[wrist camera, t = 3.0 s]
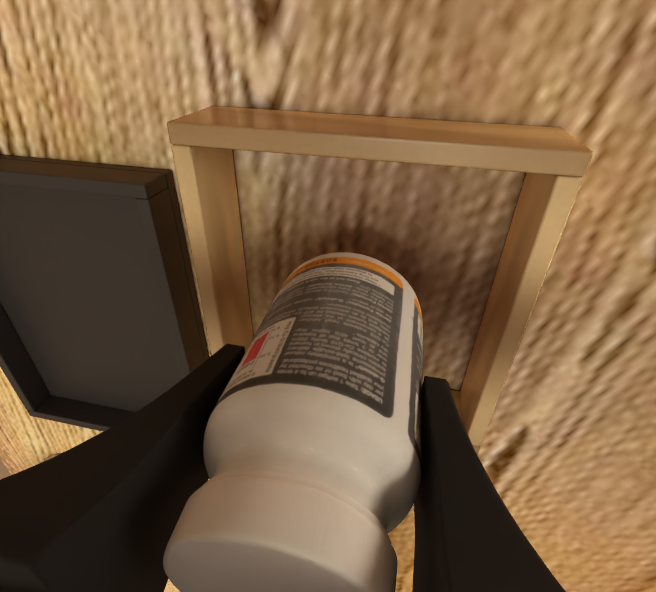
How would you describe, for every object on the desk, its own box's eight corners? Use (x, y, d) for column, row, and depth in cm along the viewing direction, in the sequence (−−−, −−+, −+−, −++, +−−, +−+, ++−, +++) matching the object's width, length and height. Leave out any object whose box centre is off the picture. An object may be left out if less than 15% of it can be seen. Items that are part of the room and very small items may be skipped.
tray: (223, 428, 27) (209, 454, 25) (52, 394, 29) (29, 416, 27) (171, 169, 17) (144, 184, 15) (-81, 146, 19) (-129, 157, 17)
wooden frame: (471, 402, 21) (477, 457, 18) (245, 364, 23) (221, 407, 20) (562, 127, 13) (595, 151, 10) (211, 105, 15) (165, 121, 12)
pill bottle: (256, 304, 17) (92, 561, 9) (347, 214, 14) (226, 480, 6) (354, 383, 18) (292, 669, 10) (456, 317, 15) (488, 654, 7)
